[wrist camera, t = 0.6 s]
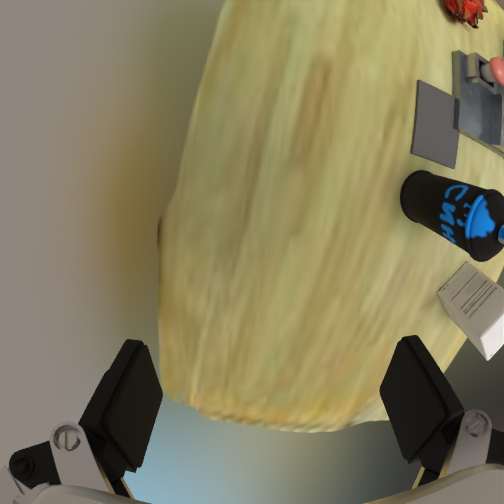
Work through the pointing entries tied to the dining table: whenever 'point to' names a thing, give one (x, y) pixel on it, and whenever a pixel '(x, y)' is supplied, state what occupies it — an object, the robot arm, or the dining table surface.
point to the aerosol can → (456, 212)
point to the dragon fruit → (466, 10)
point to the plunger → (493, 71)
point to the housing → (477, 102)
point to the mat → (435, 126)
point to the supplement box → (476, 308)
